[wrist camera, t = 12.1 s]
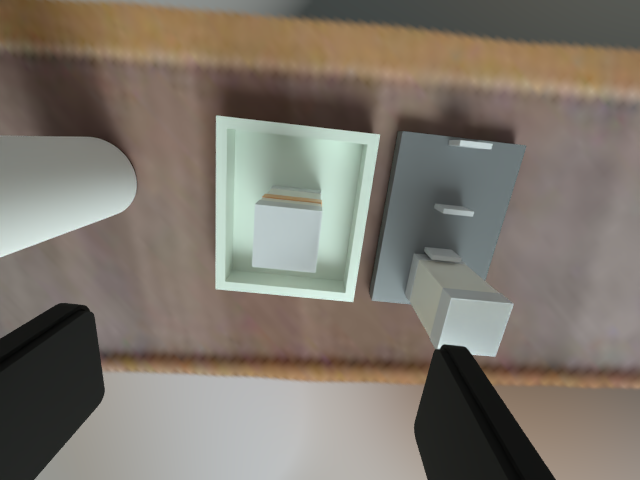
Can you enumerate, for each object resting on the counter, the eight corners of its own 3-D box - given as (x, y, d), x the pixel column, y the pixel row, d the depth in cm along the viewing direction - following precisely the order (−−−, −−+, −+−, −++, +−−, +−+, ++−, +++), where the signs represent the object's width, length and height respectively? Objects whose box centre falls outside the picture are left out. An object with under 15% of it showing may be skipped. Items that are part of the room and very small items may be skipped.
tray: (373, 135, 25) (380, 134, 22) (349, 286, 30) (353, 301, 27) (227, 118, 25) (216, 115, 22) (225, 274, 29) (215, 289, 26)
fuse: (458, 257, 27) (513, 303, 20) (447, 298, 28) (495, 356, 21) (413, 253, 27) (451, 297, 19) (404, 294, 28) (436, 351, 21)
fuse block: (514, 145, 26) (544, 146, 22) (468, 302, 30) (487, 322, 27) (398, 131, 25) (410, 130, 22) (369, 292, 30) (375, 312, 27)
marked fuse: (321, 190, 26) (322, 211, 19) (316, 235, 27) (315, 272, 20) (273, 185, 26) (254, 204, 18) (270, 231, 27) (252, 266, 20)
